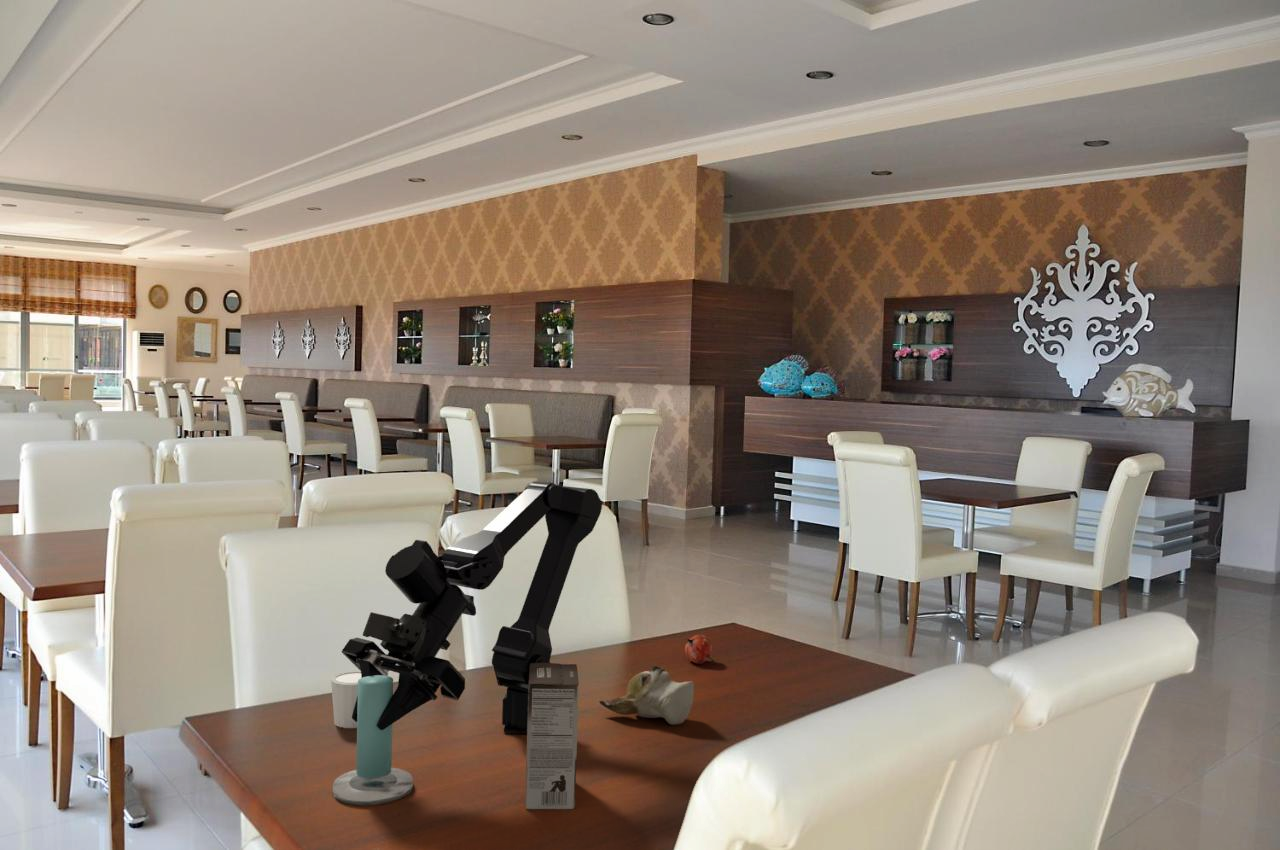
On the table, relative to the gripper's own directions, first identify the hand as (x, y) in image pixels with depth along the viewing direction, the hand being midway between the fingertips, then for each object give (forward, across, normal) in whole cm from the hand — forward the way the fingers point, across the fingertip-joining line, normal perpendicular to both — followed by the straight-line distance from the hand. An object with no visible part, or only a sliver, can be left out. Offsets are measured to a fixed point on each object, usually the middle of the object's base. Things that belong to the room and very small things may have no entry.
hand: (366, 724), depth 126 cm
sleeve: (+4, 0, +6) cm, 7 cm away
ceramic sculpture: (-27, +12, +41) cm, 51 cm away
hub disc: (+5, 0, +7) cm, 9 cm away
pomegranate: (-50, +2, +64) cm, 81 cm away
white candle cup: (-5, -22, +18) cm, 29 cm away
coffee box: (-4, +19, +16) cm, 25 cm away
